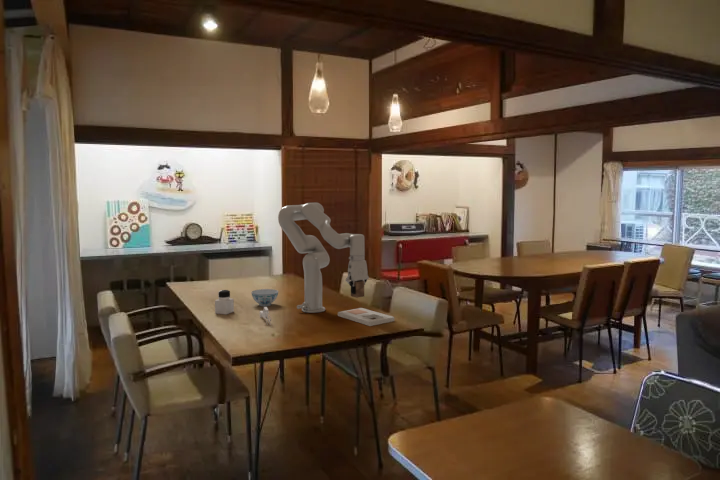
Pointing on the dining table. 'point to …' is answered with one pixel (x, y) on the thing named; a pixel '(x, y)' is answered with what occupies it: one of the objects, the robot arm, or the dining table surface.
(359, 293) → the walnut block
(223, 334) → the dining table surface
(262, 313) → the llama figurine
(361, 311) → the pocket board
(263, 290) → the chinaware
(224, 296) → the medicine bottle
